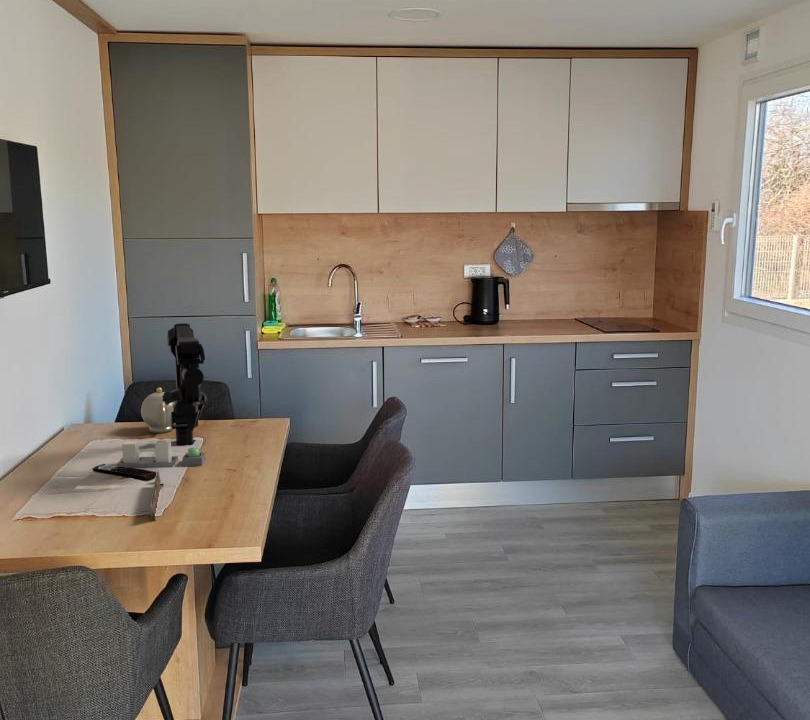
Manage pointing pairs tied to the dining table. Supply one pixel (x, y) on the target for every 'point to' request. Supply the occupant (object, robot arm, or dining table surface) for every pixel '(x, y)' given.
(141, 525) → the dining table surface
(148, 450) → the blue-grey square tray
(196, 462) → the grey square tube
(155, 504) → the incense holder
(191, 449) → the button
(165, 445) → the seated billet
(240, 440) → the dining table surface
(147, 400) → the teapot
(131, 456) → the block
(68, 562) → the dining table surface
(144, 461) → the tray
